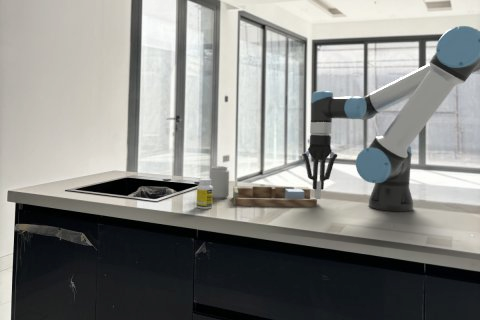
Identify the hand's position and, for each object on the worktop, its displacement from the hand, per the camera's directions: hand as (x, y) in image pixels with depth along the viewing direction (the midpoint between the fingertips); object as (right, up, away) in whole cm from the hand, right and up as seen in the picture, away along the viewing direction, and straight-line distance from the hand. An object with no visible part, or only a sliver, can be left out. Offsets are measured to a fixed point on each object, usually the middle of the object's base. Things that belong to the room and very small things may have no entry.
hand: (317, 198), depth 155 cm
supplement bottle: (-41, -2, -12) cm, 43 cm away
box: (-17, -1, +1) cm, 17 cm away
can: (-37, -1, +8) cm, 38 cm away
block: (-9, -2, 0) cm, 9 cm away
